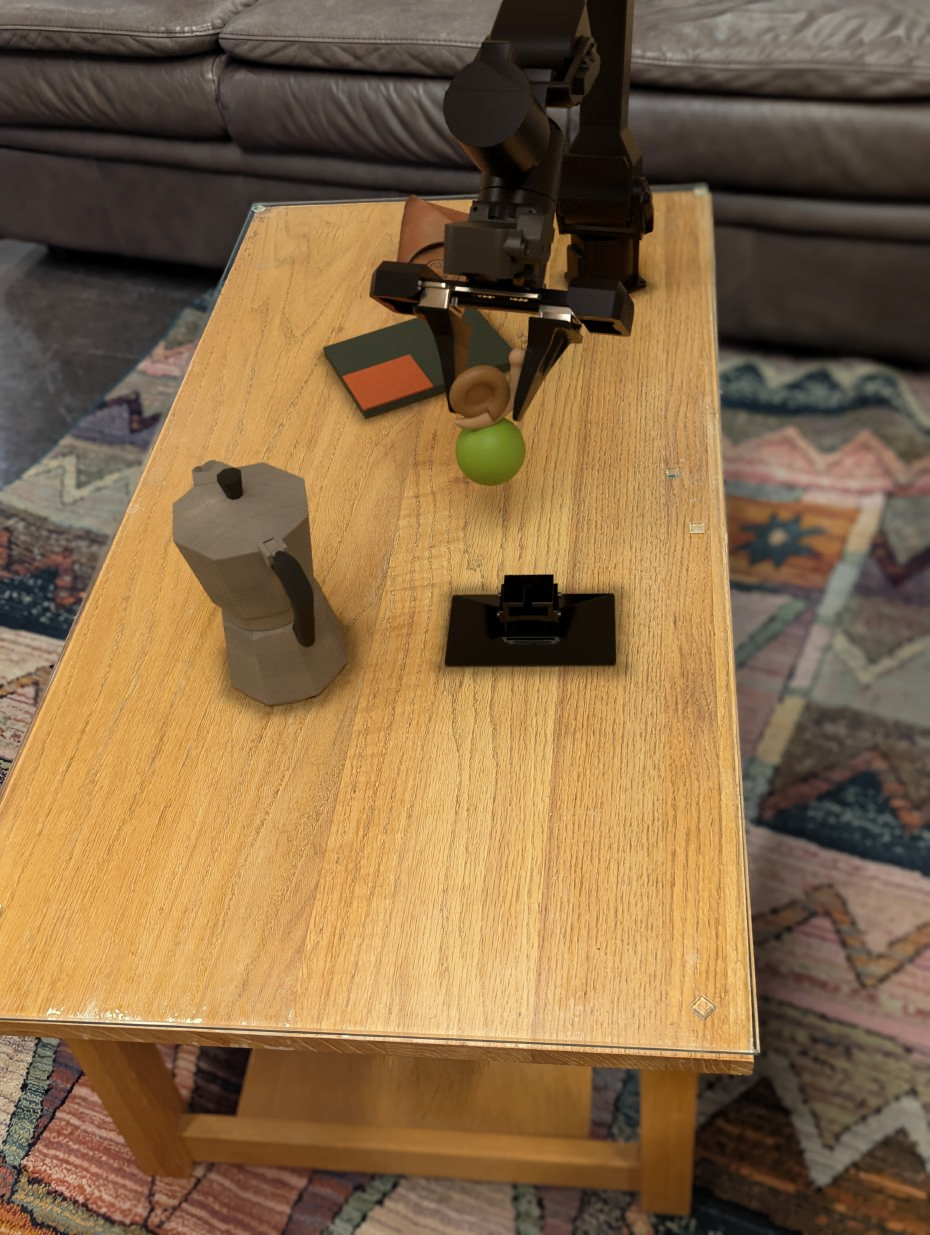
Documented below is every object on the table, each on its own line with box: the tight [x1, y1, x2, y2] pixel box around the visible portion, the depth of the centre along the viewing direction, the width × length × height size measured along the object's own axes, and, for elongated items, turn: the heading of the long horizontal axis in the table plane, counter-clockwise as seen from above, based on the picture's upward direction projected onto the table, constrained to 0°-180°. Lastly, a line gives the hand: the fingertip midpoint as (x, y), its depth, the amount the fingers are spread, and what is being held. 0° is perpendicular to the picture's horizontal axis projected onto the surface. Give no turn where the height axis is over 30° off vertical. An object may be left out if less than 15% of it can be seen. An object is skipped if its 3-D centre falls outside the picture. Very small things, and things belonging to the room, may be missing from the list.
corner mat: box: [322, 308, 514, 420], centre depth 105 cm, size 16×12×1 cm
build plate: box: [444, 573, 617, 668], centre depth 79 cm, size 12×7×5 cm, turn 86°
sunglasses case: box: [396, 194, 469, 281], centre depth 117 cm, size 18×7×7 cm, turn 0°
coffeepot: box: [172, 459, 348, 706], centre depth 73 cm, size 15×9×18 cm, turn 33°
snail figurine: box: [449, 330, 528, 487], centre depth 81 cm, size 5×6×12 cm
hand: (484, 416), depth 79 cm, fingers closed on snail figurine, 4 cm apart
